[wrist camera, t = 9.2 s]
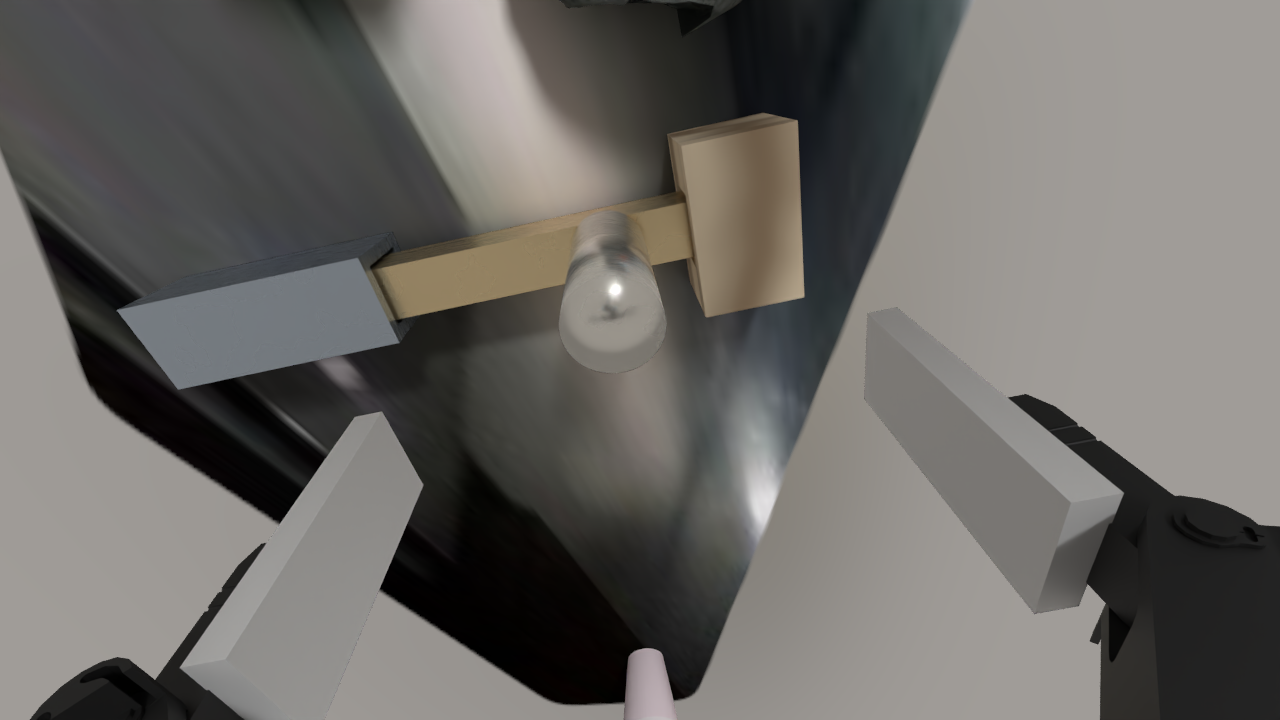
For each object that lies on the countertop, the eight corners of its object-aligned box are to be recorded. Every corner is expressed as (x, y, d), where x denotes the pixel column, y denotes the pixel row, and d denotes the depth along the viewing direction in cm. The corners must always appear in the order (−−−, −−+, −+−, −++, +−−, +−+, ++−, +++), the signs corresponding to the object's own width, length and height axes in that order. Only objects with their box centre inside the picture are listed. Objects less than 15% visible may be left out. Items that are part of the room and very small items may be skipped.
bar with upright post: (371, 316, 32) (246, 449, 20) (341, 255, 30) (183, 365, 18) (735, 238, 31) (813, 333, 20) (728, 171, 29) (811, 232, 18)
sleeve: (233, 348, 33) (178, 389, 29) (184, 276, 31) (116, 310, 26) (425, 307, 33) (399, 342, 28) (392, 231, 30) (357, 257, 26)
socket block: (689, 281, 33) (706, 317, 28) (667, 134, 29) (681, 146, 24) (773, 263, 33) (804, 297, 28) (763, 112, 29) (797, 120, 24)
